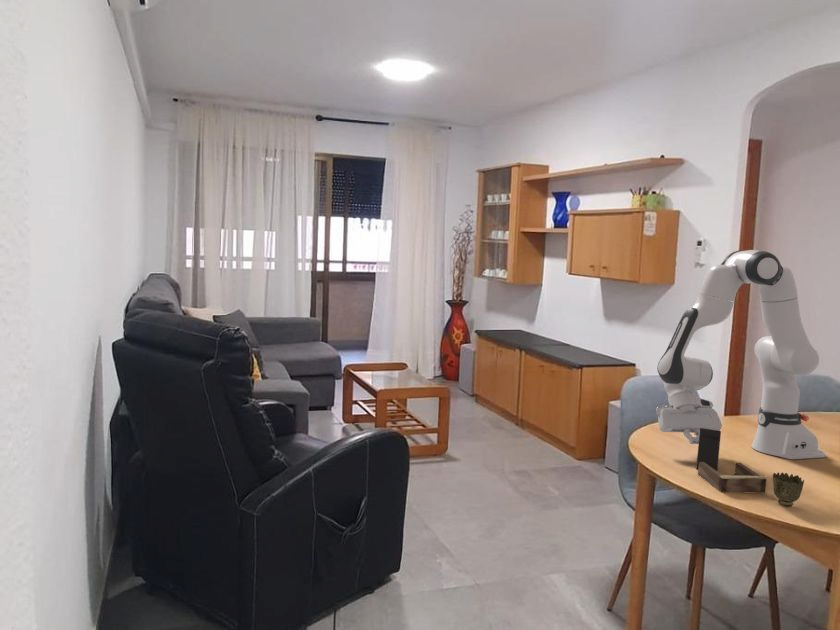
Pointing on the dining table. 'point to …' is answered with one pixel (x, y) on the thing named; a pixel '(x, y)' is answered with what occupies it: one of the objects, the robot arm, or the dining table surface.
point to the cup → (787, 488)
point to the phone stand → (709, 447)
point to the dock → (734, 479)
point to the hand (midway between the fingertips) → (695, 443)
